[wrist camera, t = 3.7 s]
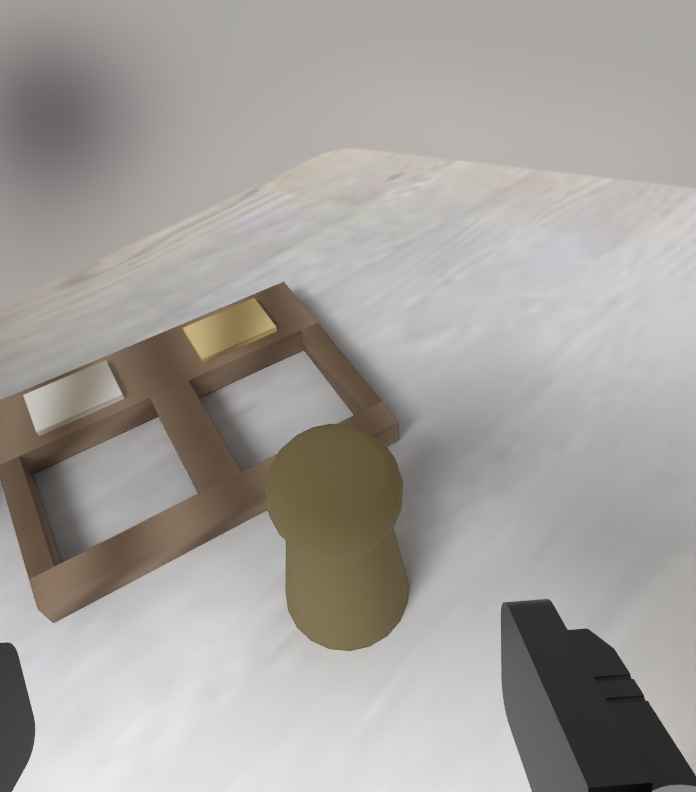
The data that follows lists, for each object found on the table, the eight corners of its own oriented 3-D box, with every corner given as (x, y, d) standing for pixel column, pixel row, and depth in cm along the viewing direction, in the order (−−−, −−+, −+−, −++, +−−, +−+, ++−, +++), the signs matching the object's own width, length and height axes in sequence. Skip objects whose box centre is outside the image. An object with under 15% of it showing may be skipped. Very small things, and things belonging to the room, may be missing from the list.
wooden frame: (53, 623, 31) (34, 605, 30) (-6, 427, 39) (-24, 404, 38) (398, 440, 37) (398, 417, 35) (287, 301, 45) (283, 277, 43)
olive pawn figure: (393, 666, 29) (394, 560, 21) (268, 632, 31) (221, 520, 22) (420, 546, 33) (430, 415, 24) (307, 520, 34) (279, 387, 26)
